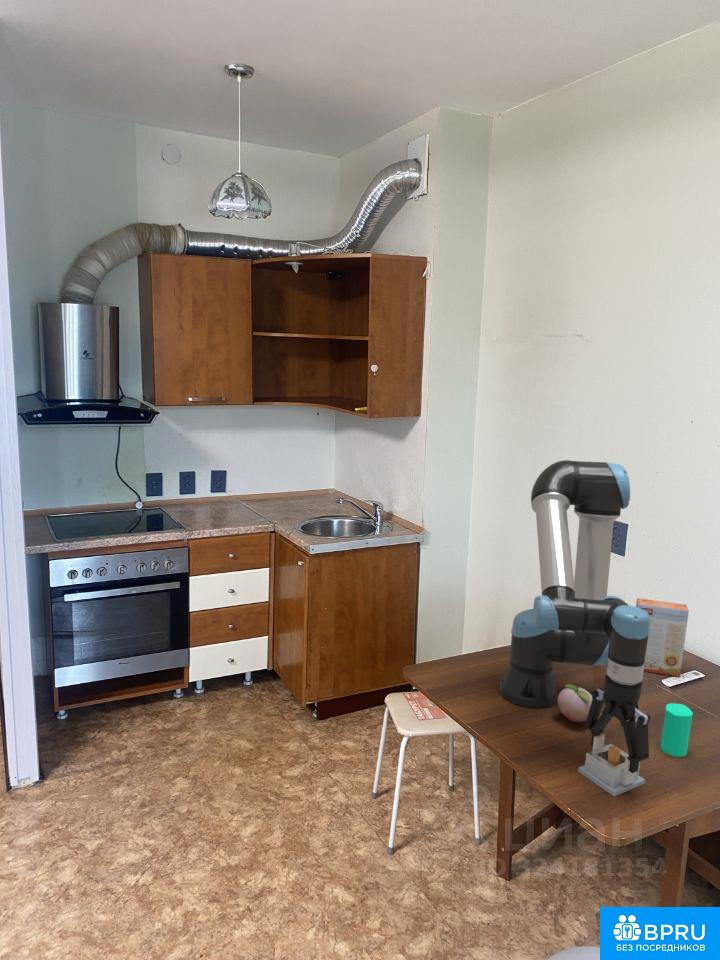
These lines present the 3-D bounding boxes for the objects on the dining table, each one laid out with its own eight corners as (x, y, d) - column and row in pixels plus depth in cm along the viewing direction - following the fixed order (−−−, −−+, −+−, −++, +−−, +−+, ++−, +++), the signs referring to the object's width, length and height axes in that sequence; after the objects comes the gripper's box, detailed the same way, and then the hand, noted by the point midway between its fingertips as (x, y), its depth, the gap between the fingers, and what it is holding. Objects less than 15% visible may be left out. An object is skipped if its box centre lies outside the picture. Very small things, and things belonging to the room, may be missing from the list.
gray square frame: (584, 768, 160) (586, 752, 159) (609, 759, 164) (611, 743, 163) (613, 788, 153) (615, 771, 152) (638, 778, 157) (640, 762, 156)
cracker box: (678, 669, 214) (687, 603, 210) (680, 678, 209) (689, 610, 205) (628, 661, 218) (636, 596, 214) (629, 669, 213) (637, 603, 209)
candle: (664, 739, 175) (670, 694, 173) (690, 749, 171) (697, 703, 169) (656, 749, 170) (663, 703, 168) (682, 759, 167) (690, 713, 164)
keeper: (578, 771, 160) (581, 743, 159) (608, 760, 165) (612, 732, 164) (613, 796, 152) (617, 767, 150) (644, 783, 157) (648, 755, 155)
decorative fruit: (600, 726, 180) (604, 689, 178) (578, 734, 176) (582, 697, 174) (571, 709, 188) (575, 674, 186) (549, 716, 183) (553, 680, 181)
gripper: (574, 661, 161) (564, 752, 165) (653, 703, 143) (639, 804, 148) (597, 655, 165) (587, 744, 169) (677, 695, 147) (663, 794, 151)
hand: (611, 772), depth 158 cm, fingers closed on gray square frame, 8 cm apart
